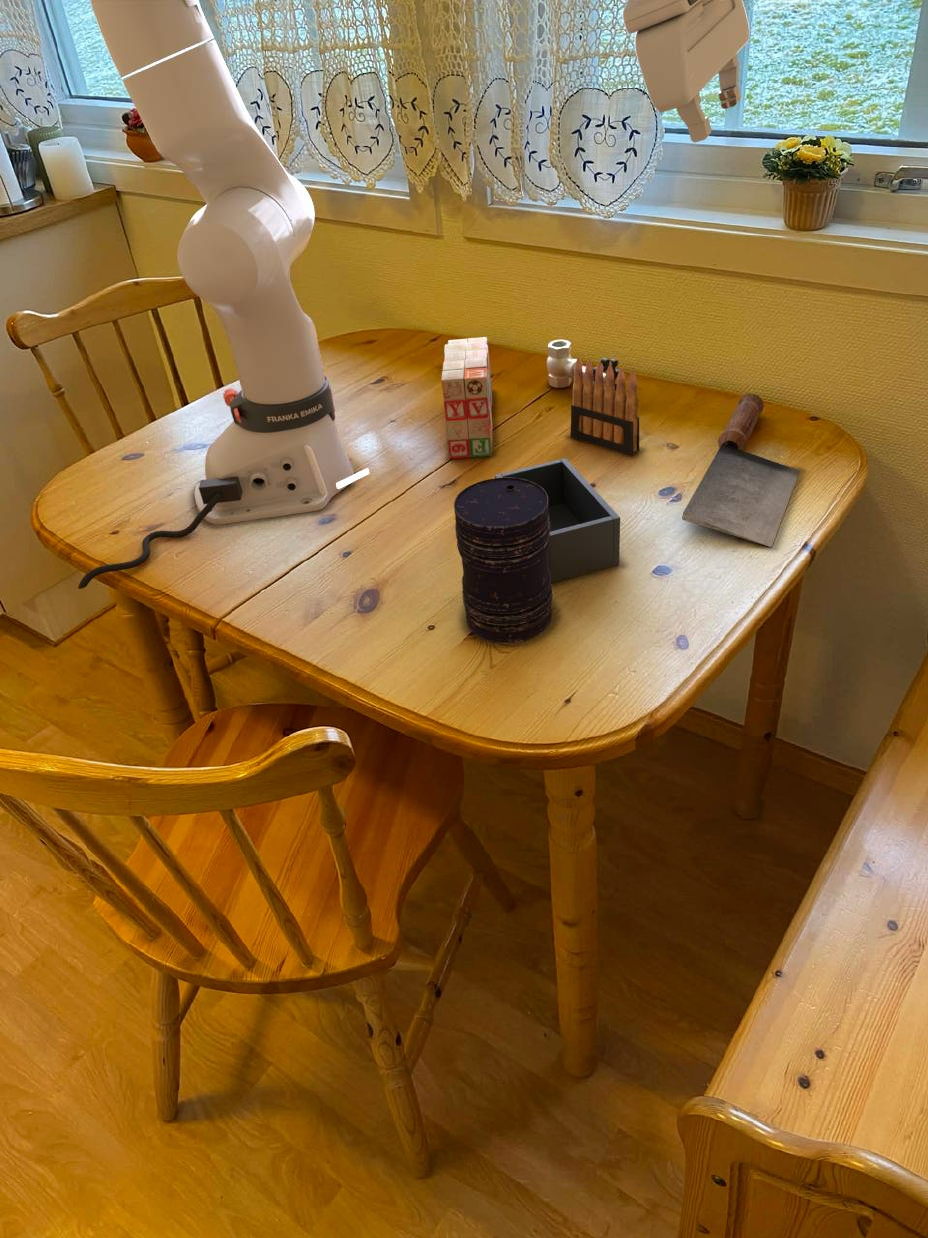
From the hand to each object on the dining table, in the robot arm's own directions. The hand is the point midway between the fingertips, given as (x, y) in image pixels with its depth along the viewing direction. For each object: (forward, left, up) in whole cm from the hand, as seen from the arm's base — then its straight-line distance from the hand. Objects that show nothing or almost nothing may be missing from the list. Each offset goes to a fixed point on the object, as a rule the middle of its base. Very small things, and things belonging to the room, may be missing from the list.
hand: (717, 121), depth 100 cm
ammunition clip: (-8, +11, -42) cm, 44 cm away
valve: (-4, +29, -42) cm, 51 cm away
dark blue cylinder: (-34, -20, -42) cm, 58 cm away
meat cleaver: (+6, -5, -42) cm, 43 cm away
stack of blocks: (-23, +26, -42) cm, 55 cm away
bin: (-24, -9, -42) cm, 49 cm away
